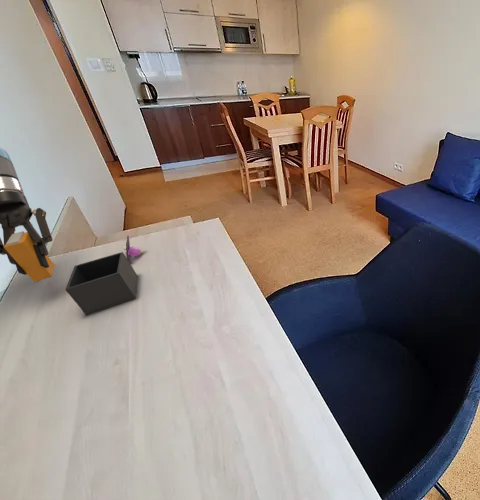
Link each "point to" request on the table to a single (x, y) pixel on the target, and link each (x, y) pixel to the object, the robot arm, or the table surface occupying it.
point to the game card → (131, 250)
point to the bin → (102, 283)
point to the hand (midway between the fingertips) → (34, 269)
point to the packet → (28, 256)
